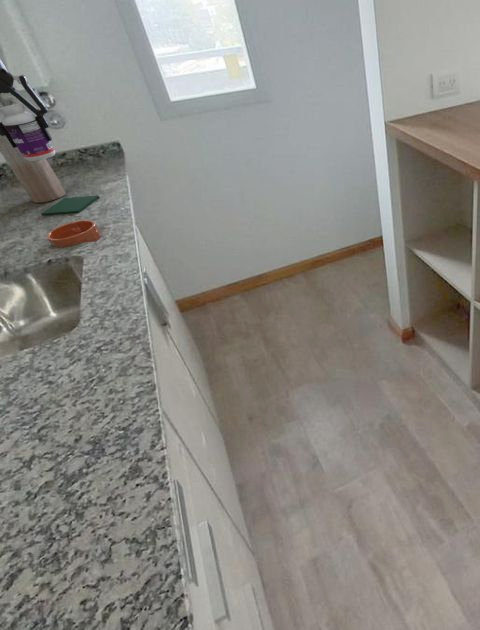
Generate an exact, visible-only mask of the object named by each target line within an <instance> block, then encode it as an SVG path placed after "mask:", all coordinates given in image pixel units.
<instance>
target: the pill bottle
mask: <svg viewBox="0 0 480 630" xmlns="http://www.w3.org/2000/svg"><path fill="white" fill-rule="evenodd" d="M0 112H1V114H2V115H3V117H2V118H1V122H2V124H3V125H4V127H5V128H6V130H7V132H8V133H9V135H10V136H11V138H12V140H13V141H14V143H15V144H16V146H17V148H18V149H19V151H20V152H21V154H22V156H23V157H24V159H26V160H28V161H40V160H44V159H47V160H48V159H50V158H52V157H53V156H55V155H56V149H55V148H54V146H53V145H52V143H51V141H48V139H47V138H46V136H45V134H44V133H43V131H42V129H41V127H40V126H39V124H38V122H37V121H36V119H35V117H36V115H35V114H34V113H31V112H28V111H26V106H25V105H24V104H23V103H15V104H10V105H5V106H2V107H0Z"/></svg>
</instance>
